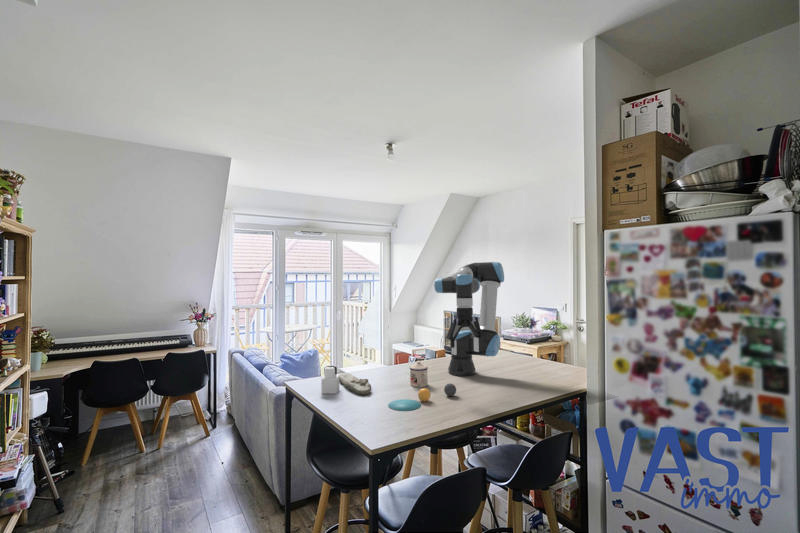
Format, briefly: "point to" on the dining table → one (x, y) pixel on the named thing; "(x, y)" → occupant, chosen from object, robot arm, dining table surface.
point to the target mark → (404, 405)
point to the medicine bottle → (330, 380)
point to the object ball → (424, 394)
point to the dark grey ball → (450, 389)
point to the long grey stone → (355, 384)
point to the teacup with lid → (418, 375)
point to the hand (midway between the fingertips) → (465, 352)
